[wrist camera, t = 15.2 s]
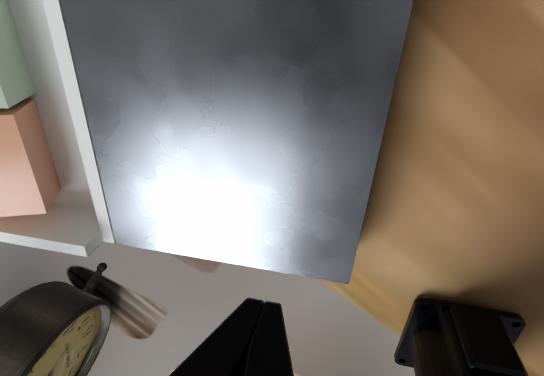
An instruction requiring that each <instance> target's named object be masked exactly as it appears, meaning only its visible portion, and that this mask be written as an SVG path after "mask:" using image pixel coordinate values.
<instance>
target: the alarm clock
mask: <svg viewBox="0 0 544 376" xmlns="http://www.w3.org/2000/svg"><path fill="white" fill-rule="evenodd" d="M106 268H107V265H106V264H105V263H100V264H99V265H98V266H97V271H96V272H95V273H94V274H93V275H92V276H91V278H90V279H89V280H88V282H87V284H86V285H85V287H84V288H83V289H78V288H76V287H74V286H72V285H70V284H67V283H64V282H59V281H53V282H48V283H43V284H40V285H37V286H34V287H32V288H30V289H28V290H26V291H24V292H22V293H21V294H19V295H17V296H15V297H14V298H12V299H11V300H9V301H8V302H6V303H5V304H4V305H2V306H1V307H0V376H87V374H88V373H89V371H90V369H91V367H92V365H93V364H94V362H95V360H96V358H97V356H98V354H99V352H100V349H101V347H102V345H103V343H104V341H105V338H106V335H107V332H108V330H109V326H110V322H111V308H110V304H109V303H108V301H106V300H104V299H100V298H98V297H96V296H94V295H93V294H92V293H93V290H94V289H95V287H96V285H97V283H98V281H99V278H100V276H101V274H102V272H103V271H104V270H105V269H106Z"/></svg>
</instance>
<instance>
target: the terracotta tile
mask: <svg viewBox="0 0 544 376" xmlns="http://www.w3.org/2000/svg"><path fill="white" fill-rule="evenodd" d="M60 190H61V186H60V183H59V179H58V176H57V173H56V169H55V166H54V163H53V159H52V156H51V153H50V149H49V146H48V142H47V139H46V136H45V132H44V129H43V126H42V122H41V119H40V116H39V112H38V109H37V106H36V102H35V99H24V100H22V101H21V102H19V103H17V104H15V105H14V106H12V107H10V108H0V217H9V216H21V215H33V214H46V213H47V212H48V210H49V209H50V207H51V205H52V203H53V202H54V200H55V198H56V197H57V195H58V193H59V191H60Z"/></svg>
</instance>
